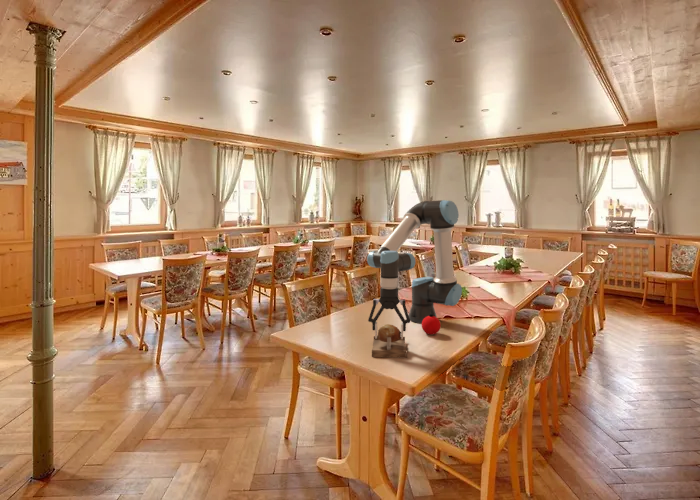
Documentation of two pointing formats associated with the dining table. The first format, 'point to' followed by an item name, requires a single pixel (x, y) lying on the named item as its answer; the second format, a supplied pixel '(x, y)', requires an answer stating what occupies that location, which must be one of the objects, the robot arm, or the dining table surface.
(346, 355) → the dining table surface
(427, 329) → the ornament
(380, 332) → the bread roll
